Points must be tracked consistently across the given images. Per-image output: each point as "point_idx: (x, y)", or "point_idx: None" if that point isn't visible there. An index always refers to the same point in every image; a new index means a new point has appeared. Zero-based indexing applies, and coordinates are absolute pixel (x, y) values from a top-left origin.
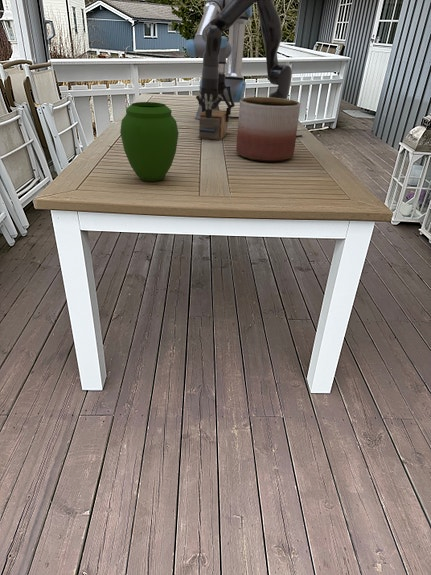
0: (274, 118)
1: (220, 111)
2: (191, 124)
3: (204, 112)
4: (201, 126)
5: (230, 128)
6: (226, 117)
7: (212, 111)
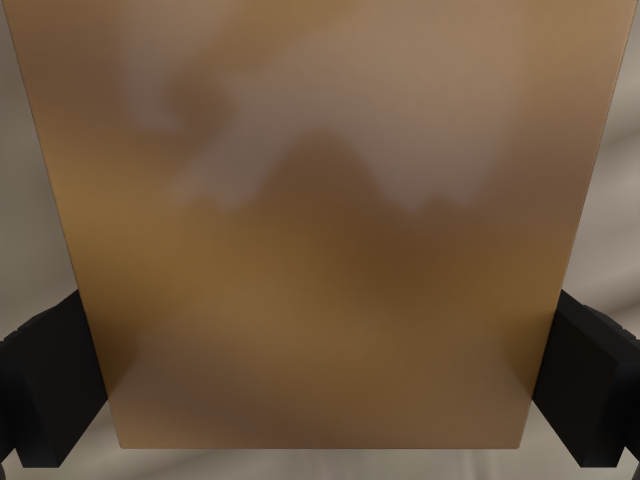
0: None
1: (225, 344)
2: (567, 466)
3: (580, 26)
4: None
5: (244, 449)
6: None
7: (386, 270)
